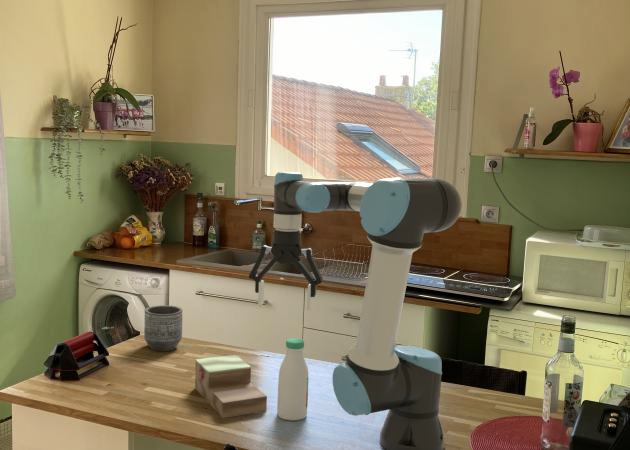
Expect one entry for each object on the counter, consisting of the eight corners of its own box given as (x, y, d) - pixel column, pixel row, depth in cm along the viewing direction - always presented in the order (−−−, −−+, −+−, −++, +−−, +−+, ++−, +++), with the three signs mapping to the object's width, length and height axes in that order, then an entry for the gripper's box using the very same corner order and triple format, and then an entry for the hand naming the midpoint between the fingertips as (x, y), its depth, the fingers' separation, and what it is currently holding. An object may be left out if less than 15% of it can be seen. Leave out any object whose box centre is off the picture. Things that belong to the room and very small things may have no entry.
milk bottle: (303, 423, 177) (306, 346, 175) (273, 419, 179) (276, 343, 176) (309, 411, 185) (313, 337, 182) (281, 408, 186) (284, 334, 184)
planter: (187, 350, 230) (187, 312, 229) (150, 355, 224) (151, 316, 223) (174, 340, 241) (175, 303, 239) (139, 344, 235) (139, 306, 233)
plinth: (268, 410, 184) (269, 379, 183) (220, 418, 178) (221, 386, 177) (237, 382, 203) (238, 354, 202) (193, 388, 197) (193, 359, 196)
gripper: (335, 230, 191) (332, 307, 194) (246, 225, 196) (245, 300, 199) (330, 233, 184) (327, 313, 186) (238, 228, 189) (236, 305, 191)
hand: (284, 306), depth 193 cm, fingers open, 13 cm apart
